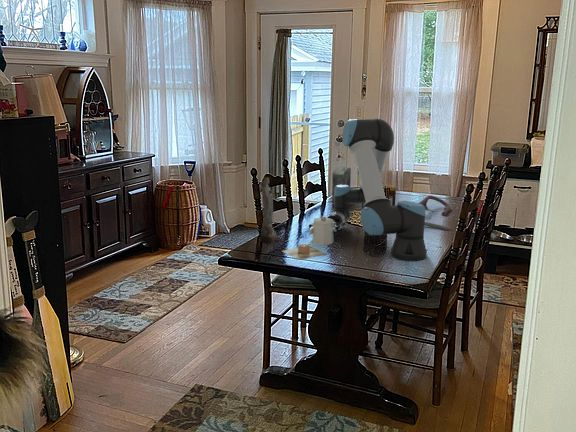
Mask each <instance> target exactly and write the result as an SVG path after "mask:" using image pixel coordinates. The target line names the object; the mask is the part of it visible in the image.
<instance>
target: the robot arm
mask: <svg viewBox="0 0 576 432" xmlns="http://www.w3.org/2000/svg"><path fill="white" fill-rule="evenodd" d="M341 140H342V141H341V142H342V144H343V145H344V146H345V147H346V148H347V147H348V148H349V152H350V153H351V154H354V158H355V162H356V166H357V167H356V168H357V170H358V176H359V179H360V183H361V184H360V186H359V188H351V186H350V187H349V186H348V185H337V186H335V189H334V204H333V212H332V213H331V214H329V216H327V217H326V218H330V219H332V220H333V222H334V228H333V229H332V230H330V231H329V237H332V236H333V237H334V235H337V234H340V235H341V234H343V231H344V229H346V223H348V221H349V220H350V219H351V216H352V215H351V214H352V212H351V211H350V205H353V204H354V205H355V204H356V205H357V204H362V203H365V204H364V205H363V209H362V208H361V211H360V223H361V226H362V229H363V230H364V232H366V233H367V234H368V235H370V236H381V235H391V234H395V238H394V241H393V244H392V246H391V249H390V256H391V257H393V258H395V259H398V260H401V261H410V262H411V261H414V262H415V261H422V260H425V259H426V258H427V255H428V251H427V248H426V244H425V239H424V238H425V236H424V235H425V227H426V226H425V222H426V209H425V207H424V206H423V205H422V204H419V203H420V202H415V201H408V200H398V201H397V203H396V204H397V205H395V206H392V205H391V201H390V199H388V198H386V196H385V192H384V188H383V184H384V183H383V182H382V181H383V180H382V176H381V174H382V171H383V169H384V165H385V162H386V160H387V157H388V154H389V153H390V152H391V151H392V149H393V147H394V143H395V142H394V141H395V134H394V131H393V129H392V126H391V125H390V124H389V123H388V122H387V121H386V120H384V119H383V118H382V119H381V118H362V119H361V118H360V119H357V118H355V119H348V120H347V121H346V122H345V123H344V125H343V128H342V137H341ZM308 235H309V236H311V235H312V236H313V222H311V223H309V224H308Z"/></svg>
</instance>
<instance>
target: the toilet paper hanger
mask: <svg viewBox="0 0 576 432" xmlns="http://www.w3.org/2000/svg"><path fill="white" fill-rule="evenodd" d="M429 200H433V201H435V202H438V203H440V204H442V205H443V207H444V206H445V210H443V211H442V212H441V216H443V217H445V216H446V215H447V214H448V213H449V212H450V211H451V206H450V204H449V203H448V202H446V201H444V200H443V199H441V198H440V197H437V196H433V195H427V196H426V197H424V198H423V199H422V200H421V201H420V202H418V203H419V204H422V205H423V206H424V207H425V210H428V209H429V207H428V206H427V205H428V204H427V203H428V201H429Z"/></svg>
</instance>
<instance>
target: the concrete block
mask: <svg viewBox="0 0 576 432" xmlns="http://www.w3.org/2000/svg"><path fill="white" fill-rule="evenodd" d="M351 170H352V168H351V167H348V166H339V167H336V169H334V170H333V171H332V176H331V177H332V181H331V182H332V184H331V185H332V186H331V187H332V188H331V204H333V205H334V189H335V186H337V185H348V186H349V187H350V188H351V178H352V177H351V174H352V171H351Z"/></svg>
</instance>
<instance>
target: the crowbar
mask: <svg viewBox="0 0 576 432" xmlns="http://www.w3.org/2000/svg"><path fill="white" fill-rule="evenodd" d="M424 227H430V228H434V229H439V230H445V231H450V230H451V227H450V226H445V225H442V224H437V223H433V222H428V221H425V226H424Z"/></svg>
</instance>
